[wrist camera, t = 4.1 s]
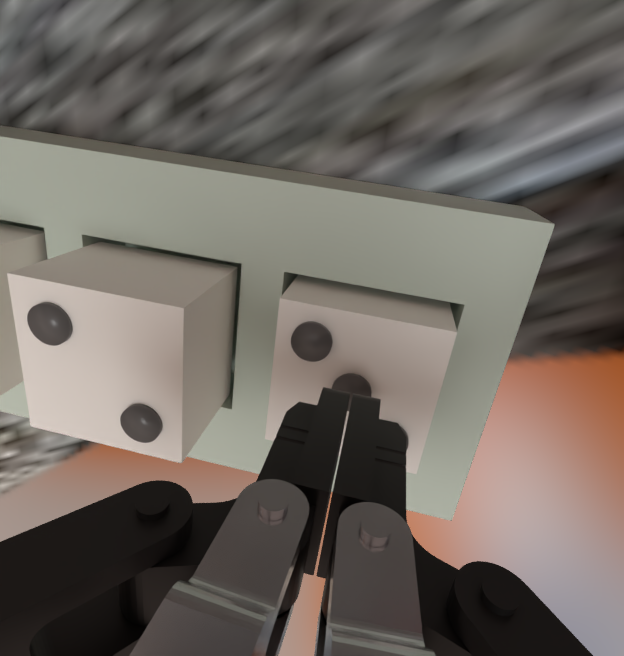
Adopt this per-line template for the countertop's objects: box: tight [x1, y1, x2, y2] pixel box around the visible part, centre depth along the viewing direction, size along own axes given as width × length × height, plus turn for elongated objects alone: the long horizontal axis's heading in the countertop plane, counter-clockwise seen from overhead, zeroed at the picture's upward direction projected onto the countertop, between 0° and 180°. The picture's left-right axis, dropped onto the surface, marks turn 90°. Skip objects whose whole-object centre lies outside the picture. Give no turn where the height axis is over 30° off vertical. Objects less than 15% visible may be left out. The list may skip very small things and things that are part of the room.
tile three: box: [265, 274, 457, 474], centre depth 15 cm, size 5×5×4 cm
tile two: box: [7, 242, 238, 463], centre depth 14 cm, size 5×5×4 cm
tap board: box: [0, 125, 555, 521], centre depth 17 cm, size 11×23×4 cm, turn 83°
